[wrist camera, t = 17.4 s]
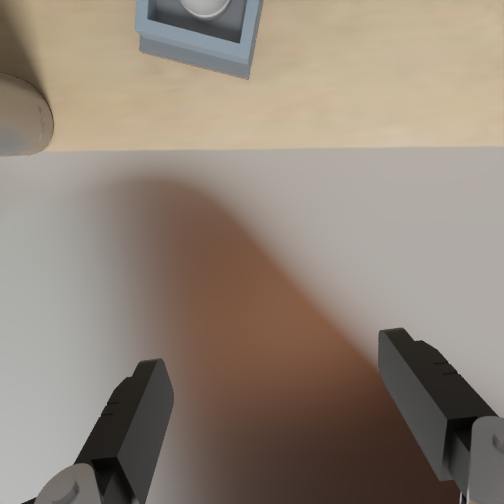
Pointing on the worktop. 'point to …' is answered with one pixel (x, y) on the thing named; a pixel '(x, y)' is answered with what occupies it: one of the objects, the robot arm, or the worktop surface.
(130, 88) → the worktop surface
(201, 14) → the travel mug
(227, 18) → the light blue open tray
